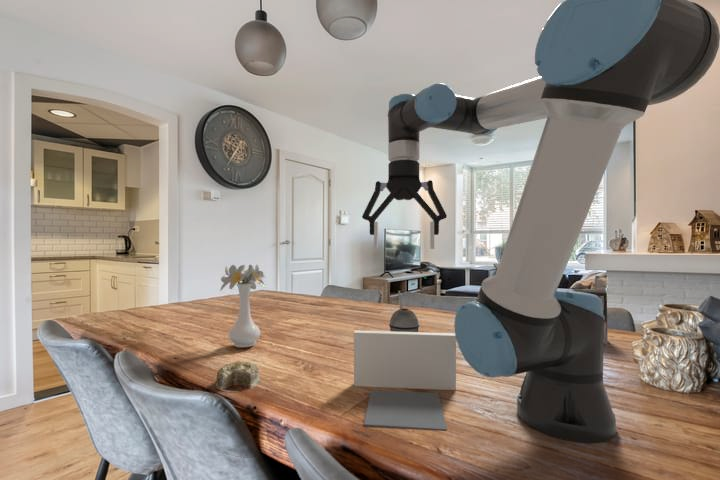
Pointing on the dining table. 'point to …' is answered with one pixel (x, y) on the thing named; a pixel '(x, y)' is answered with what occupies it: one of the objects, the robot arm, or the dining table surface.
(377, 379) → the screen
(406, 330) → the beverage cup
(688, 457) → the dining table surface
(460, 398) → the dining table surface
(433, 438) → the dining table surface
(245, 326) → the flower vase
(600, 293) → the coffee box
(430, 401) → the mat
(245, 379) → the cake
